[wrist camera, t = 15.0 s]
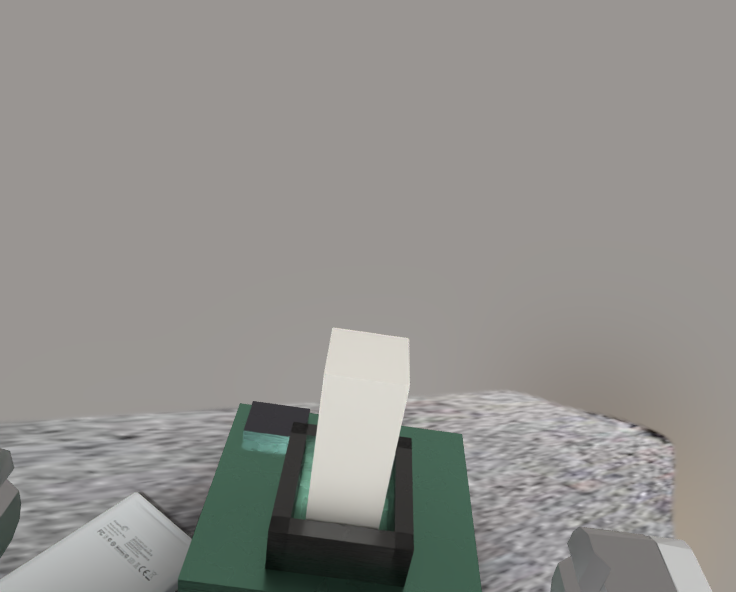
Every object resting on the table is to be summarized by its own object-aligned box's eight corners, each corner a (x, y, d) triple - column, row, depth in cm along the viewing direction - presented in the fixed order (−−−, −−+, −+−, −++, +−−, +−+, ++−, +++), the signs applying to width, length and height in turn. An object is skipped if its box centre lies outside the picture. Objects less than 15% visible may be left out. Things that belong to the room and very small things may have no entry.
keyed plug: (301, 545, 34) (324, 374, 28) (312, 480, 38) (334, 319, 32) (373, 555, 34) (409, 385, 28) (376, 489, 39) (408, 330, 33)
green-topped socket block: (180, 676, 36) (176, 540, 30) (236, 492, 48) (241, 369, 42) (450, 710, 36) (499, 583, 30) (437, 519, 49) (471, 401, 43)
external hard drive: (-40, 622, 37) (136, 503, 47) (33, 717, 34) (209, 567, 43) (-46, 606, 37) (135, 488, 46) (29, 701, 33) (210, 552, 42)
